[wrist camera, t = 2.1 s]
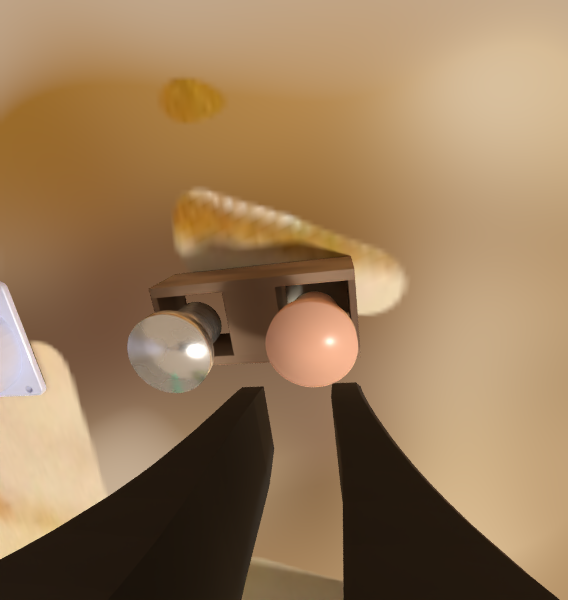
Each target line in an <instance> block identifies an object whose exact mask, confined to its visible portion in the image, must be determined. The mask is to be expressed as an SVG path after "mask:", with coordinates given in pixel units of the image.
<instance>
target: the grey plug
mask: <svg viewBox="0 0 568 600" xmlns="http://www.w3.org/2000/svg"><path fill="white" fill-rule="evenodd" d="M220 332H221V320H220V318H219V316H218V314H217V313H216V311H215V310H214V309H213V308H212V307H210V306H209V305H207V304H204V303H201V302H192V303H188V304H186V305H184V306H183V307H182V308H181V309H179V310H178V311H171V310H164V311H159V312H155V313H153V314H151V315H149V316H148V317H146V318H145V319H144V320H142V321H141V322H139V323H138V324H137V325H136V326H135V327H134V328H133V330H132V332H131V334H130V336H129V339H128V347H127V349H128V356H129V359H130V362H131V364H132V366H133V368H134V370H135V371H136V372H137V374H138V375H139V376H140V377H141V378H142V379H143V380H144V381H145V382H146V383H148V384H149V385H151V386H152V387H154V388H156V389H159V390H161V391H165V392H170V393H182V392H186V391H190V390H192V389H194V388H196V387H197V386H198V385H200V384H201V382H202V381H203V380H204V378H205V377H206V376H207V374H208V373H209V371H210V370H211V367H212V365H213V362H214V346H213V343H214V342H215V341H216V340H217V338H218V337H219V335H220Z"/></svg>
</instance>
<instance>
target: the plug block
mask: <svg viewBox="0 0 568 600" xmlns="http://www.w3.org/2000/svg"><path fill="white" fill-rule="evenodd" d="M344 280H347V289H348V301H349V314H350V319H351V320H352V322H353V324H354V326H355V330H356V334H357V340H358V354H357V357H361V355H360V343H359V328H358V314H357V300H356V286H355V272H354V266H353V262H352V259H351V256H346V257H336V258H327V259H317V260H307V261H298V262H288V263H279V264H269V265H260V266H250V267H241V268H231V269H222V270H212V271H203V272H193V273H184V274H175V275H173V276H171V277H170V278H168V279H166V280H164V281H162V282H160V283H159V284H157V285H155V286H153V287H151V288H149V292H150V296H151V300H152V303H153V307H154V311H155V312H159V311H164V310H171V311H178V310H179V309H181V308H182V307H183V306H184V305H186V304H187V303H186V298H185V295H194V294H204V293H216V292H222V295H223V301H224V305H225V311H226V316H227V321H228V326H229V331H230V333H226V334H220V335H219V337H218V338H217V340H216V341H215V342H214V343H213V346H214V362H213V365H229V364H248V363H265V362H270V361H269V358H268V356H267V352H266V345H265V342H266V335H267V331H268V328H269V326H270V324H271V322H272V320H273V318H274V317H275V315H276V314H277V313H278V312H279V311H280V309H282V308H283V307H284V306H286V305H287V304H288V303H287V296H286V289H285V286H291V285H301V284H312V283H323V282H333V281H344Z"/></svg>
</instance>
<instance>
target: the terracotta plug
mask: <svg viewBox="0 0 568 600" xmlns="http://www.w3.org/2000/svg"><path fill="white" fill-rule="evenodd" d="M265 345H266V352H267V356H268V358H269V361H270V363H271V364H272V366H273V367H274V369H275V370H276V371H277V372H278V373H279V374H280V375H281V376H282V377H284V378H285V379H287V380H288V381H290V382H292V383H295V384H297V385H301V386H306V387H322V386H326V385H329V384H332V383H334V382H336V381H338V380H340V379H341V378H343V377H344V376H345V375H346V374H347V373H348V372H349V371H350V370H351V368H352V367H353V365H354V363H355V361H356V358H357V354H358V340H357V334H356V330H355V326H354V324H353V322H352V320H351V319H350V317H349V316H348V315H347V314H346V312H345V311H343V310H342V309H341V308H340V307H338V305H337V303H336V302H335V300H334V299H333V298H332V297H330V296H329V295H327V294H325V293H322V292H317V291H312V292H307V293H305V294H303V295H301V296H299V297H298V298H297V299H296V300H295V301H293V302H291V303H289V304H287V305H286V306H284V307H283V308H282V309H280V311H279V312H278V313H277V314H276V315H275V317H274V318H273V320H272V322H271V324H270V326H269V328H268V331H267V335H266V342H265Z"/></svg>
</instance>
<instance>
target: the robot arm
mask: <svg viewBox="0 0 568 600" xmlns="http://www.w3.org/2000/svg"><path fill="white" fill-rule="evenodd" d="M45 391H46V385H45V382H44V380H43V377H42V374H41V372H40V369H39V367H38V364H37V362H36V359H35V356H34V354H33V351H32V349H31V346H30V343H29V341H28V338H27V336H26V333H25V331H24V328H23V325H22V323H21V321H20V318H19V315H18V313H17V310H16V307H15V305H14V302H13V300H12V297H11V295H10V292H9V289H8V287H7V285H6V284H5V283H3V282H1V281H0V397H8V396H31V395H41V394H42V393H44V392H45ZM331 399H332V408H333V418H334V427H335V437H336V446H337V456H338V464H339V475H340V485H341V492H342V500H343V564H344V566H343V567H344V568H343V570H344V571H343V572H344V574H343V575H344V600H559V599H558V598H557V597H555V596H554V595H553V594H552V593H551V592H549V591H548V590H547V589H546V588H544V587H543V586H542V585H541V584H540V583H538V582H537V581H536V580H535V579H533V578H532V577H531V576H530V575H528V574H527V573H526V572H525V571H524V570H523V569H522V568H520V567H519V566H518V565H517V564H516V563H515V562H514V561H512V560H511V559H510V558H509V557H508V556H507V555H506V554H504V553H503V552H502V551H501V550H500V549H499V548H498V547H496V546H495V545H494V544H493V543H492V542H491V541H489V540H488V539H487V538H486V537H485V536H484V535H482V533H480V532H479V531H478V530H477V529H476V528H475V527H474V526H473V525H471V524H470V523H469V522H468V521H467V520H466V519H465V518H464V517H463V516H462V515H461V514H460V513H459V512H458V511H457V510H456V509H455V508H454V507H453V506H452V505H451V504H450V503H449V502H448V501H447V500H446V499H444V497H443V496H442V495H441V494H440V493H439V492H438V491H437V490H436V489H435V488H434V487H433V486H432V485H431V484H430V483H429V482H428V481H427V479H426V478H425V477H424V476H423V475H422V474H421V473H420V472H419V471H418V469H417V468H416V467H415V466H414V465H413V464H412V463H411V461H410V460H409V459H408V458H407V456H406V455H405V454H404V453H403V452H402V450H401V449H400V448H399V447H398V445H397V444H396V443H395V441H394V440H393V439H392V438H391V436H390V435H389V433H388V432H387V431H386V429H385V428H384V426H383V425H382V424H381V422H380V421H379V419H378V418H377V416H376V415H375V413H374V412H373V410H372V408H371V407H370V405H369V404H368V402H367V400H366V398H365V396H364V394H363V392H362V389H361V387H360V386H359V385H358V384H357V383H333V384H332V394H331ZM273 453H274V445H273V439H272V433H271V428H270V422H269V416H268V410H267V404H266V398H265V392H264V387H244V388H243V387H242V388H241V389H240V390H238V391H237V392H236V393H235V394H234V395H233V396H232V397H231V398H230V399H228V400H227V401H226V402H225V403H224V404H223V405H222V406H221V407H220V408H219V409H218V410H216V411H215V413H213V414H212V415H211V416H210V417H209V418H208V419H207V420H206V421H204V422H203V423H202V424H201V425H200V426H199V427H198V428H197V429H196V430H194V431H193V432H192V433H191V434H190V435H189V436H188V437H186V438H185V439H184V440H183V441H181V442H180V443H179V444H178V445H177V446H175V447H174V448H173V449H172V450H170V451H169V452H168V453H167V454H166V455H164V456H163V457H162V458H161V459H160V460H158V461H157V462H156V463H155V464H153V465H152V466H151V467H149V468H148V469H147V470H145V471H144V472H142V473H141V474H140V475H138V476H137V477H136V478H134V479H133V480H131V481H130V482H128V483H127V484H126V485H124V486H123V487H121V488H120V489H118V490H117V491H116V492H114V493H113V494H111V495H110V496H108V497H107V498H105V499H103V500H102V501H100V502H99V503H97V504H95V505H94V506H92V507H90V508H89V509H87V510H86V511H84V512H82V513H81V514H79V515H78V516H76V517H74V518H73V519H71V520H69V521H68V522H66V523H65V524H63V525H61V526H60V527H58V528H56V529H55V530H53V531H51V532H50V533H48V534H46V535H44V536H42V537H41V538H39V539H37V540H35V541H34V542H32V543H30V544H28V545H26V546H25V547H23V548H21V549H19V550H17V551H15V552H14V553H12V554H10V555H8V556H6V557H4V558H2V559H0V600H241V599H242V594H243V590H244V585H245V580H246V576H247V572H248V568H249V565H250V561H251V557H252V553H253V549H254V545H255V541H256V537H257V533H258V529H259V525H260V521H261V517H262V513H263V509H264V505H265V501H266V497H267V493H268V489H269V484H270V477H271V469H272V462H273Z"/></svg>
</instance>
